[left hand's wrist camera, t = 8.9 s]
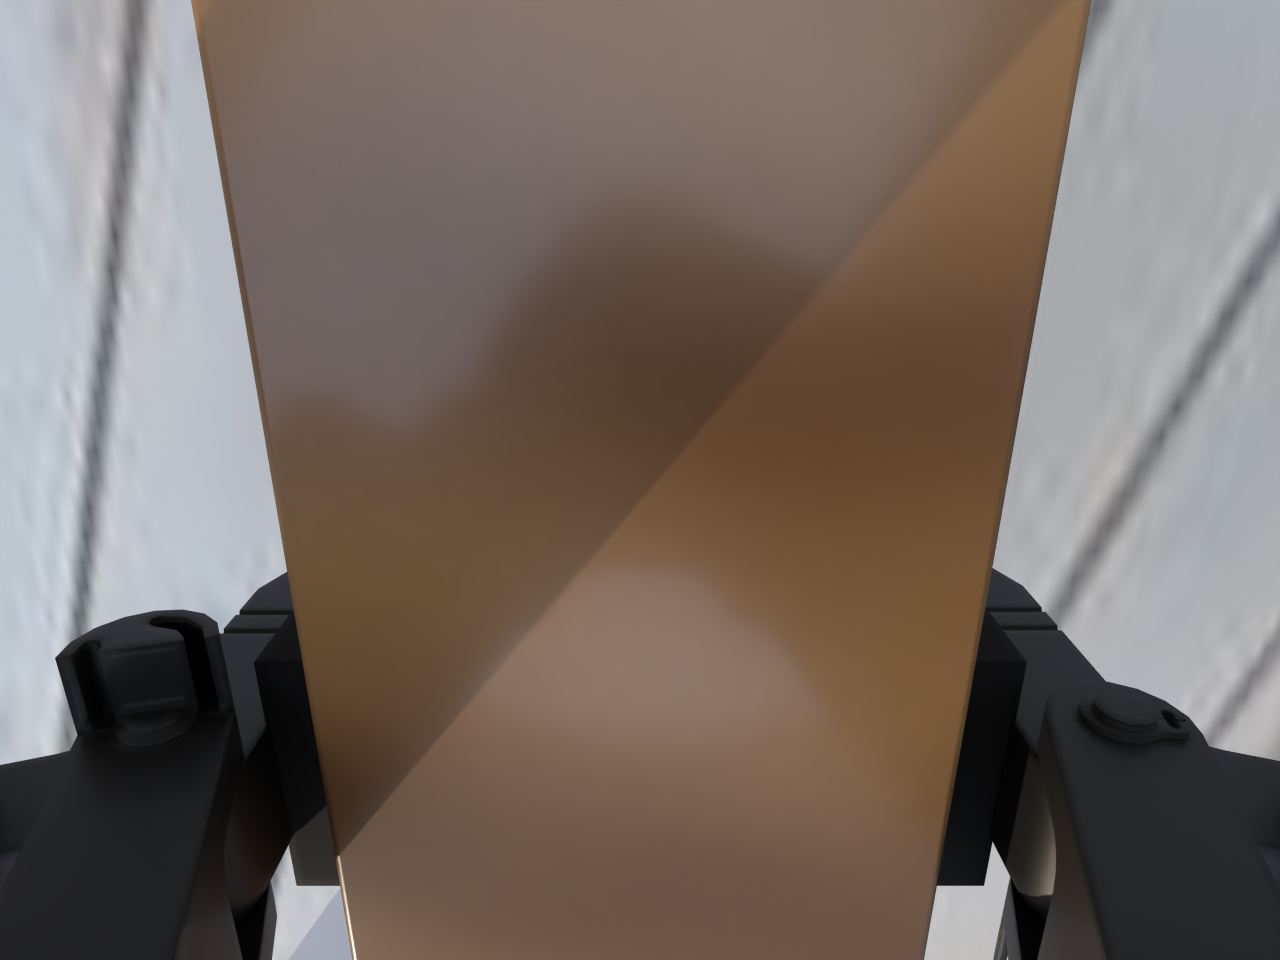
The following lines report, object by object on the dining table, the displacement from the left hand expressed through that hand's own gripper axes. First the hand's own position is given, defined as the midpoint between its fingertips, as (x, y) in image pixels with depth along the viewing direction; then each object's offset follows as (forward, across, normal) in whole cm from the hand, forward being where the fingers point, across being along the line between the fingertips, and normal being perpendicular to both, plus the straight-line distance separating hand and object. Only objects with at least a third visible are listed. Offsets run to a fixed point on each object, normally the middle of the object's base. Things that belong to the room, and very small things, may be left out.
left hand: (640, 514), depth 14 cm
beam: (+1, 0, -31) cm, 31 cm away
